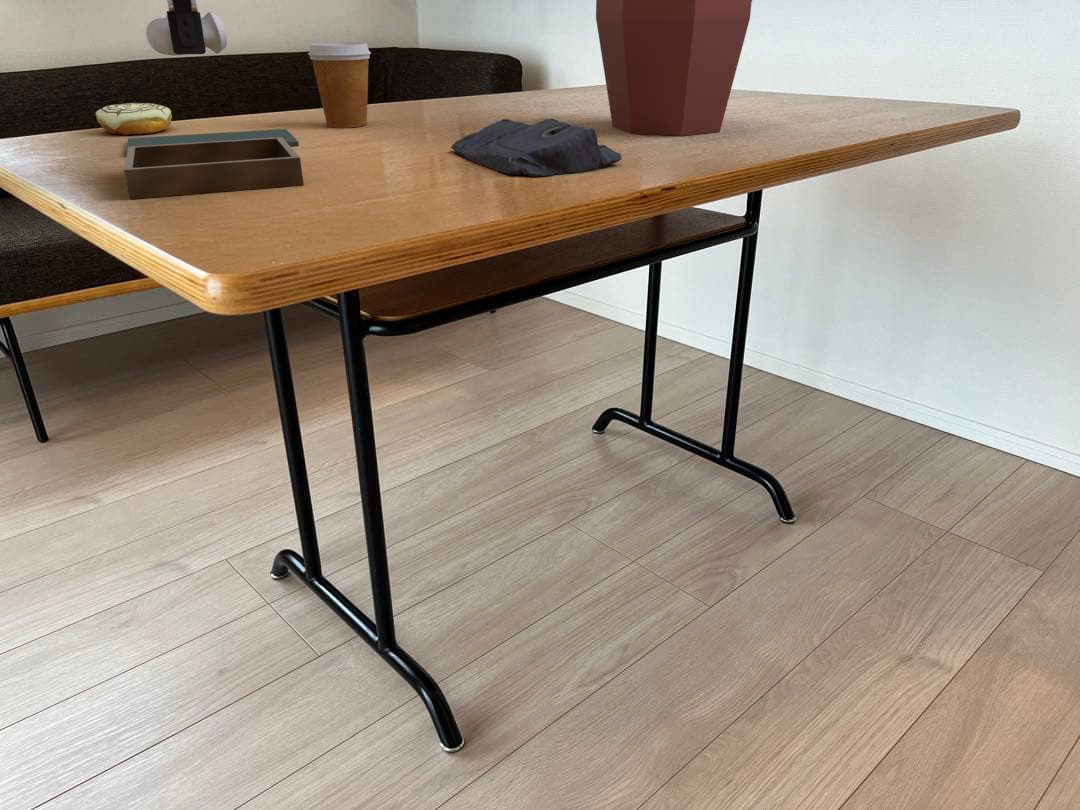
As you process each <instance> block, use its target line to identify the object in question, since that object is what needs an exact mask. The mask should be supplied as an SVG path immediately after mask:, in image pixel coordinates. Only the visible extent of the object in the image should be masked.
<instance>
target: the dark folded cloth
mask: <svg viewBox="0 0 1080 810" xmlns="http://www.w3.org/2000/svg"><path fill="white" fill-rule="evenodd" d="M597 135H598V134H597V131H596V129H595V128H587V127H584V126H580V125H571V124H570V123H567V122H565V121H559V120H557V119H555V118H552V117H551V118H546V119H542V120H541V121H537V122H536V123H534V124H528V123H525V122H522V121H521V122H520V121H514V120H511V119H508V118H504V119H501V120H497V121H496V122H493V123H491V124H489V125H487V126H484V127H483V128H482V129H480V130H478V131H476V132H472V133H470V134H468V135H466V136H464V137H462V138H460V139H459V140H458V139H457V140H456V141H454V143H453V144H452V145H451V146H450V148H451V149H452V150H453V151H454V152H455V153H457V155H458V156H460V157H462V158H464V159H467V160H468V161H470V162H473V163H475V164H478V165H481V166H483V167H486V168H489V169H492V170H495V171H496V172H500V173H504V174H506V175H509V176H521V175H525V176H528V177H530V178H537V177H546V176H554V175H559V174H560V175H564V174H571V173H572V174H573V173H574V174H575V173H584V172H591V171H595V170H597V169H600V168H601V169H603V168H606V167H608V166H610V165H613V164H615V163H618V162H620V161H621V160H622V158H623V157H622V155H621V153H620V152H617V151H614V150H613V149H612V148H610V147H608V146H607V145H606V144H599V142H598V141H599V140H598V136H597Z"/></svg>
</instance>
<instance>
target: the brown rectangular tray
mask: <svg viewBox="0 0 1080 810" xmlns="http://www.w3.org/2000/svg"><path fill="white" fill-rule="evenodd" d="M123 173H124V178H125V183H126V186H127V187H126V188H127V191H128V195H129V199H130V200H138V199H152V198H162V197H164V198H165V197H177V196H187V195H188V196H189V195H202V194H213V193H224V192H226V193H227V192H236V191H237V192H238V191H247V190H249V191H250V190H260V189H272V188H273V189H274V188H286V187H287V188H288V187H297V186H298V187H299V186H304V178H303V169H302V162H301V157H300V156H299V155H298V153H297V152H296V151H295V150H294V149H293V147H292V146H289V144H288V143H287V142H286V141H285V140H284V139H283V137H275V138H259V139H243V140H227V141H211V142H195V143H179V144H163V145H147V146H131V147H128V152H127V157H126V156H125V162H124V168H123Z"/></svg>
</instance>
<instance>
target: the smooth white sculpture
mask: <svg viewBox="0 0 1080 810" xmlns="http://www.w3.org/2000/svg"><path fill="white" fill-rule="evenodd" d="M201 22H202V29H203V36H204V42H205V48H207V49H210V50H211V51H213V52H214V53H215V54H220V53H221V52H223V50H224V49H226V48H227V46H228V38H227V33H226V29H225V25H224V22H223V21H222V19H221V17H220V16H218V15H216V14H214V13H212V12H210V11H207V13H205V15H204V16H202V17H201ZM145 35H146V39H147V42H148V44H149V46H150V47H151V48H152V49H153V50H154V52H156V53H158V54H160V55H167V56H183V55H185V54H175V53H174V51H173V47H172V41H171V35H170V29H169V23H168V17H167V14H166V15H165V17H158V18H155V19H152V20H151V21H150V22H149V23H148V24H147V26H146V31H145Z"/></svg>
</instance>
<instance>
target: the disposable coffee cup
mask: <svg viewBox="0 0 1080 810" xmlns="http://www.w3.org/2000/svg"><path fill="white" fill-rule="evenodd" d="M371 54H372V52H371V51H370V50H369V46H368V43H367V42H350V41H349V42H345V41H342V42H341V41H340V42H339V41H338V42H317V43H311V44H309V52H308V53H307V55H308V56H309V59H310V60H311V61H312V62H311V63H312V66H313V67H312V68H313V72H314V75H315V79H316V83H317V88H318V93H319V97H320V102H321V105H322V109H323V113H324V114H323V115H324V118H325V122H326V126H327V127H329V128H338V129H340V128H341V129H347V128H348V129H350V128H359V127H365V126H367V124H368V95H369V94H368V93H369V90H368V89H369V59H370V58H371V57H370V55H371Z"/></svg>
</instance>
